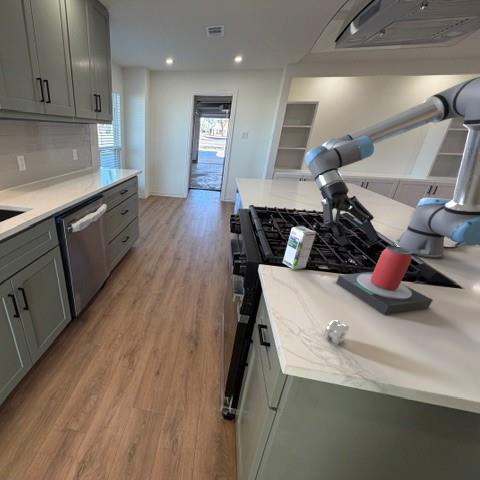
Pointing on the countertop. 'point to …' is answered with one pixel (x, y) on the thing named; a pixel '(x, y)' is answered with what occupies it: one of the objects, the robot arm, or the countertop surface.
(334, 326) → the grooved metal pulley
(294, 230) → the syrup box
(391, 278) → the beer can
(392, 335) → the countertop surface
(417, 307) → the kitchen scale
